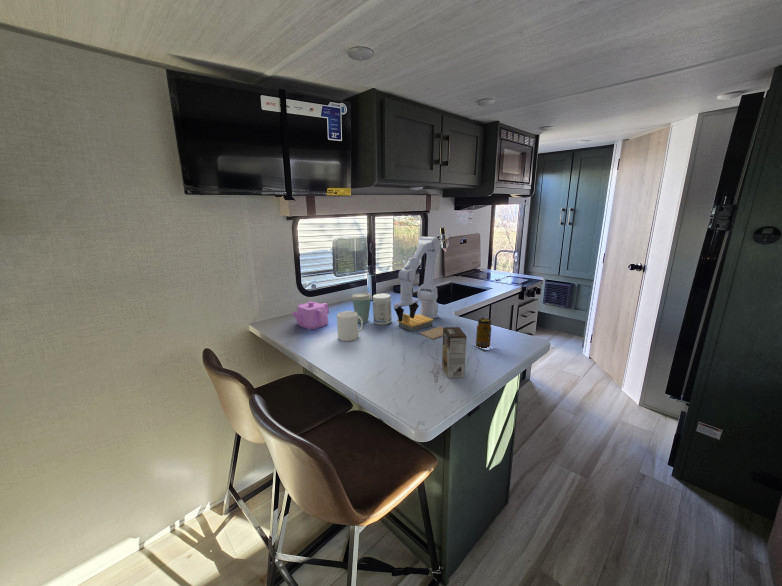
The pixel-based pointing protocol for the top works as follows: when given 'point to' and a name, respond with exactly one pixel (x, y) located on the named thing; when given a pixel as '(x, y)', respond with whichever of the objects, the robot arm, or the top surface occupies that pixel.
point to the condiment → (483, 333)
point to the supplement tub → (382, 309)
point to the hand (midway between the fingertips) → (406, 319)
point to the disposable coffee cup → (362, 305)
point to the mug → (348, 325)
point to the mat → (433, 333)
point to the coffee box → (454, 352)
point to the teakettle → (312, 315)
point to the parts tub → (415, 326)
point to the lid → (415, 320)
